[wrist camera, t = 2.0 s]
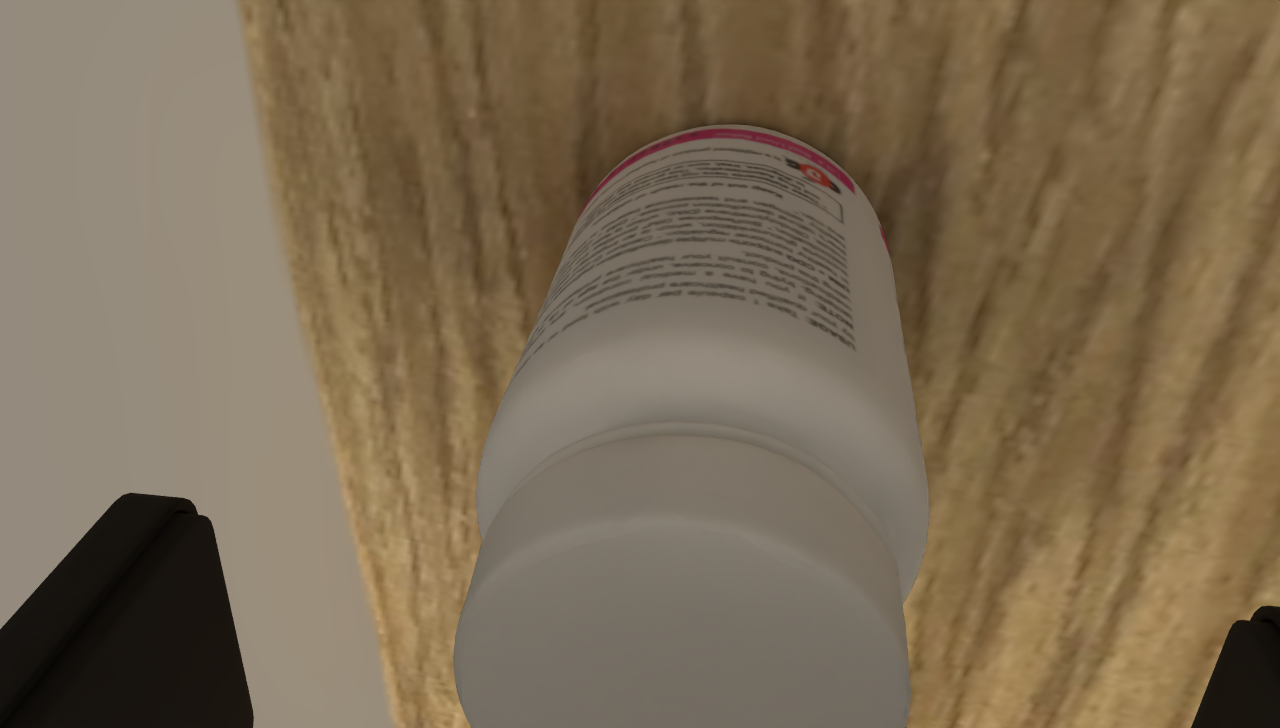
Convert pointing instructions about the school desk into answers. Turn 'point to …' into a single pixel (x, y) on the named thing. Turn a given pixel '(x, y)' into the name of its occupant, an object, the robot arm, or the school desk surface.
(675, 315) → the pill bottle
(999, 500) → the school desk surface
